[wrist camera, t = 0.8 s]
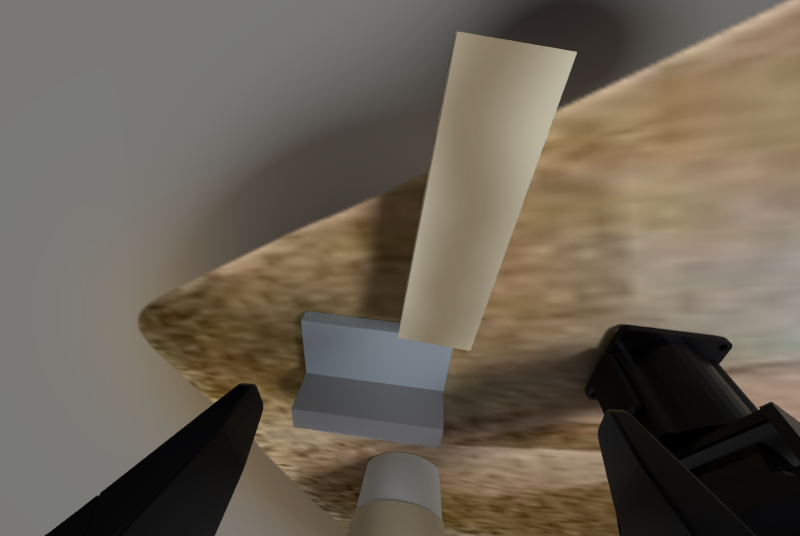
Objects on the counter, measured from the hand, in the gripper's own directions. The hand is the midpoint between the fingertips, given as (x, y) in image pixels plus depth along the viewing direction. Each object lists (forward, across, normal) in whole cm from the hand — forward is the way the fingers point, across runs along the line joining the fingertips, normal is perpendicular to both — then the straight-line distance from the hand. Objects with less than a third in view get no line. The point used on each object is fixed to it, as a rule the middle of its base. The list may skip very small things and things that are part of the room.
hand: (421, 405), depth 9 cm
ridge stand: (+12, +4, +13) cm, 18 cm away
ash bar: (+12, -1, -1) cm, 12 cm away
